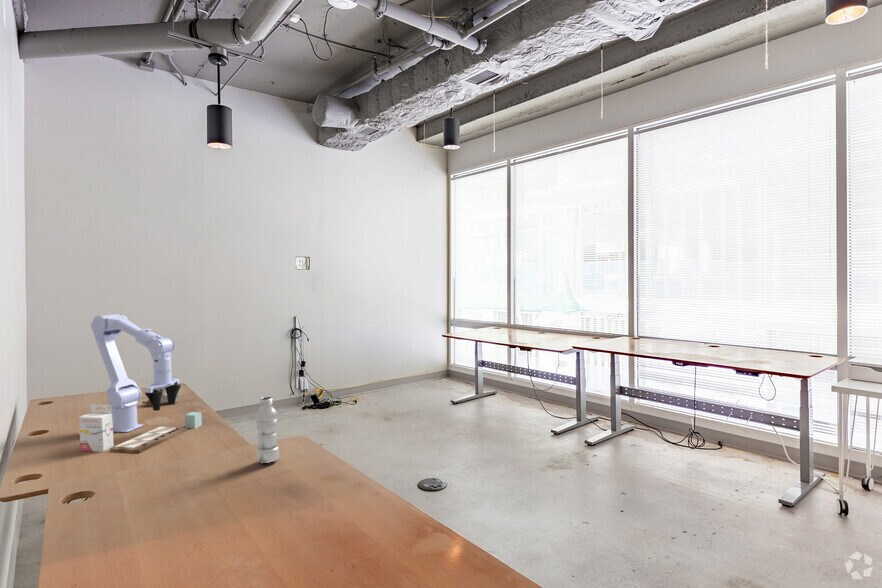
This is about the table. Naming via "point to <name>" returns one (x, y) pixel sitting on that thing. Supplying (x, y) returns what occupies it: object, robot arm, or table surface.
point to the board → (148, 439)
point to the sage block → (193, 420)
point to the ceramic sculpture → (165, 397)
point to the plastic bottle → (267, 431)
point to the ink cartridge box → (96, 429)
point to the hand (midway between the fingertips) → (164, 407)
